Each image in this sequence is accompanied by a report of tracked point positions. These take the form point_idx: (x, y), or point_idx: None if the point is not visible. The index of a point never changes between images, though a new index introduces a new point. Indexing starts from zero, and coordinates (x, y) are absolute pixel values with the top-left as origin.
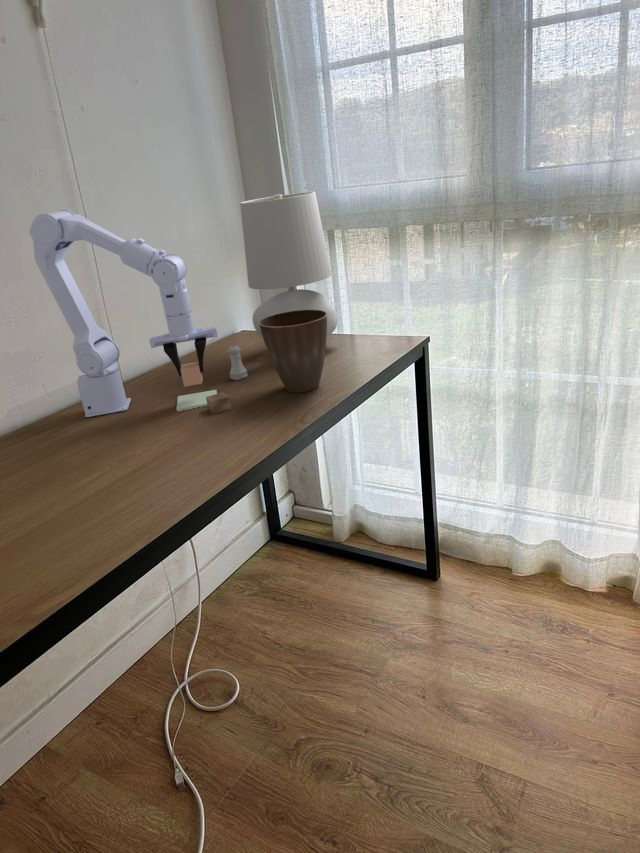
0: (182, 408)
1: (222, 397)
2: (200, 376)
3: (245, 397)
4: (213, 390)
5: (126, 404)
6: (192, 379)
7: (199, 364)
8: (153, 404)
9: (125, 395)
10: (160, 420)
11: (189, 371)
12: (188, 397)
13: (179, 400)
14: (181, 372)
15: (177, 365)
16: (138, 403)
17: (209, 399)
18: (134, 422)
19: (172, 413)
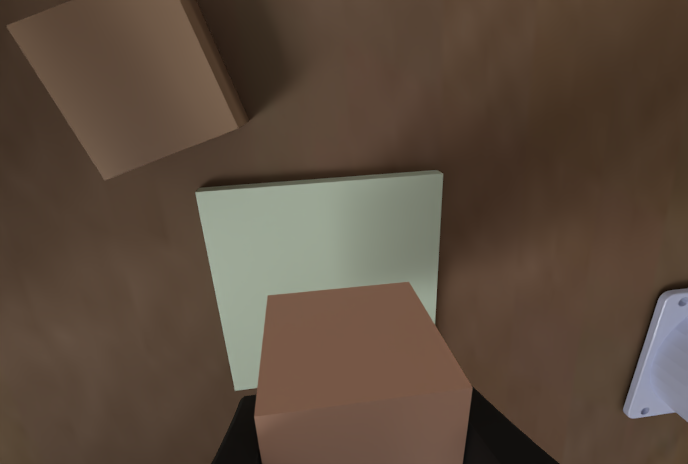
0: (407, 174)
1: (73, 36)
2: (266, 333)
3: (26, 235)
4: (250, 383)
5: (658, 347)
6: (342, 316)
7: (248, 462)
8: (541, 327)
9: (685, 393)
10: (531, 56)
11: (367, 369)
12: None
13: (425, 304)
14: (451, 362)
15: (514, 453)
16: (598, 364)
17: (192, 41)
18: (659, 100)
19: (461, 150)
